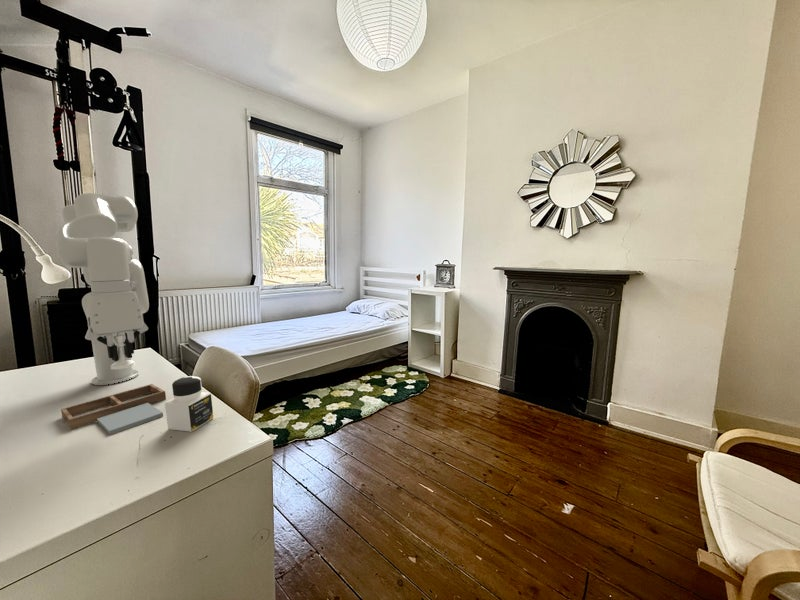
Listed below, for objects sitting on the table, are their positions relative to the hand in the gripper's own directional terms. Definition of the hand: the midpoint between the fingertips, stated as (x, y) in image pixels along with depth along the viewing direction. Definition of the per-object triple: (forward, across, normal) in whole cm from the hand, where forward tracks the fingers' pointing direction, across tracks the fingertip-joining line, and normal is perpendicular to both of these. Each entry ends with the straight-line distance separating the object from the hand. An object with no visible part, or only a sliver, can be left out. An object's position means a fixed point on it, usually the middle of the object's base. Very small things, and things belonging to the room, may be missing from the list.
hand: (122, 358), depth 83 cm
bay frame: (+17, 0, -11) cm, 20 cm away
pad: (+17, 0, 0) cm, 17 cm away
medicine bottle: (+17, -8, +17) cm, 25 cm away
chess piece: (+2, 0, 0) cm, 2 cm away
